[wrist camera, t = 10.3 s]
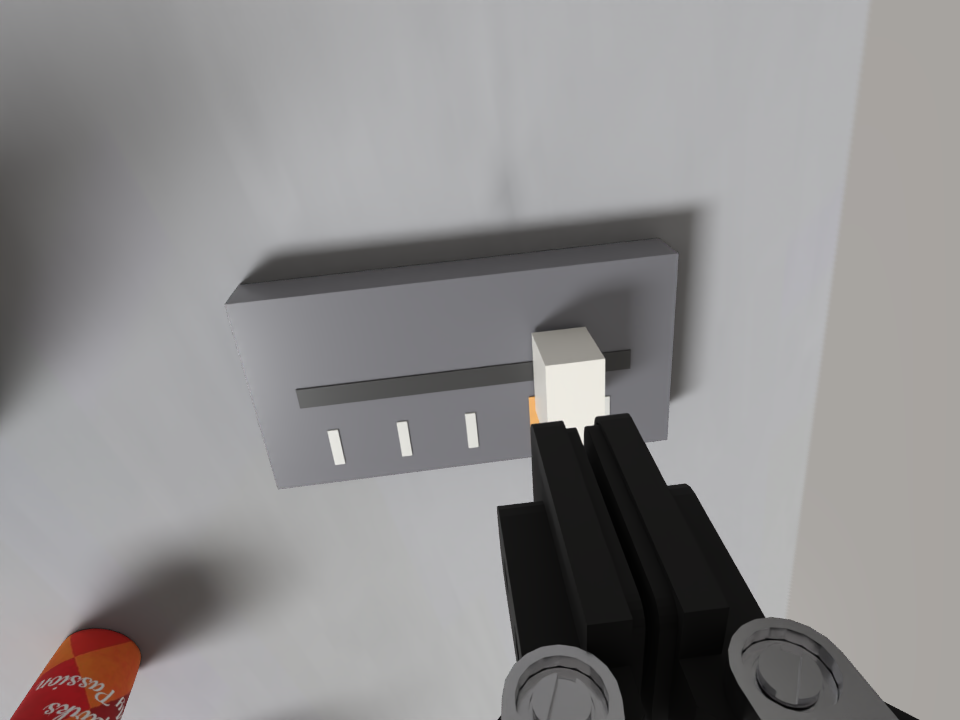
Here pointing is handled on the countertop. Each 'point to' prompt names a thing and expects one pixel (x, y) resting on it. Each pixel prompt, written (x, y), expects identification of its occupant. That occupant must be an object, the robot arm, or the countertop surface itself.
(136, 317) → the countertop surface
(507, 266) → the fader console
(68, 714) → the paper cup
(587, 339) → the fader knob
